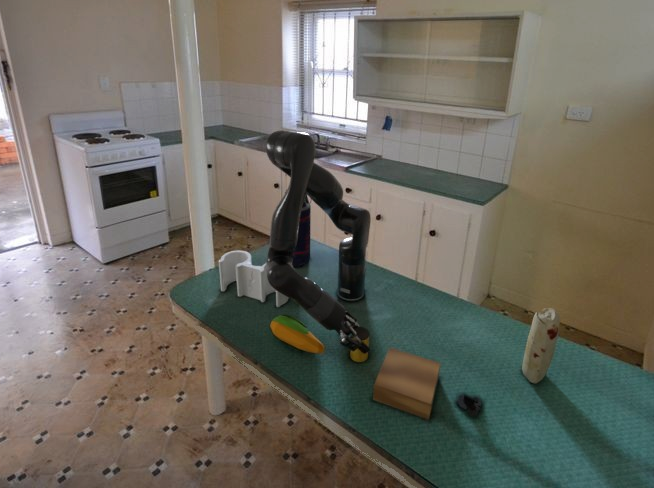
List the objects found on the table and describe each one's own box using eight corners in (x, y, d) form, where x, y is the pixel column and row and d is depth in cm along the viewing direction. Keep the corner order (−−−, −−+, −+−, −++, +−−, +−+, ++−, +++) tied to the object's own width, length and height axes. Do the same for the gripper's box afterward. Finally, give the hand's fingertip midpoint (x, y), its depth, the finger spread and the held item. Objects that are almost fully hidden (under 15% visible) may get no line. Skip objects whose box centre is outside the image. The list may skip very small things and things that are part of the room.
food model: (545, 391, 105) (562, 329, 98) (517, 380, 108) (532, 319, 101) (548, 367, 113) (565, 308, 106) (523, 357, 116) (537, 299, 109)
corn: (280, 303, 124) (333, 331, 113) (282, 323, 127) (333, 351, 116) (263, 317, 118) (316, 347, 107) (265, 337, 121) (317, 368, 110)
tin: (355, 346, 118) (356, 324, 115) (371, 353, 116) (372, 331, 113) (346, 357, 114) (347, 334, 111) (362, 365, 112) (363, 341, 109)
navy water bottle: (298, 271, 155) (298, 199, 145) (274, 262, 161) (272, 192, 150) (318, 256, 167) (319, 188, 156) (295, 248, 172) (294, 182, 162)
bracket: (294, 293, 142) (293, 263, 138) (280, 309, 133) (279, 277, 129) (234, 276, 151) (232, 247, 146) (218, 290, 142) (215, 260, 138)
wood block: (388, 361, 113) (389, 347, 111) (438, 377, 108) (440, 362, 107) (372, 399, 101) (374, 384, 99) (429, 419, 96) (431, 404, 94)
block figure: (462, 384, 103) (485, 394, 101) (461, 391, 104) (483, 401, 101) (455, 401, 99) (479, 412, 96) (454, 408, 99) (477, 419, 97)
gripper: (335, 317, 101) (380, 355, 106) (333, 284, 115) (373, 319, 120) (314, 335, 103) (359, 371, 108) (314, 300, 116) (354, 334, 121)
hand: (366, 343), depth 114 cm, fingers closed on tin, 5 cm apart
